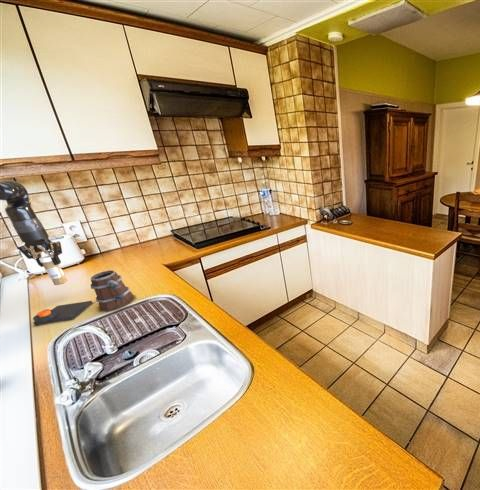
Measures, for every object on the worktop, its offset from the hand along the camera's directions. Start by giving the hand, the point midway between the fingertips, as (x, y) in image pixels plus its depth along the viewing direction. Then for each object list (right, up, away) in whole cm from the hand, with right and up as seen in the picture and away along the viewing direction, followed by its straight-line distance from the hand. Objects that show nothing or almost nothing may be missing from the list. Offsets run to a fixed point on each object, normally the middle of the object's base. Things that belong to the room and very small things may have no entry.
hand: (50, 265), depth 118 cm
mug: (+30, -18, +1) cm, 35 cm away
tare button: (+8, -20, -8) cm, 23 cm away
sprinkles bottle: (0, -9, +4) cm, 10 cm away
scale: (+11, -21, -4) cm, 24 cm away
